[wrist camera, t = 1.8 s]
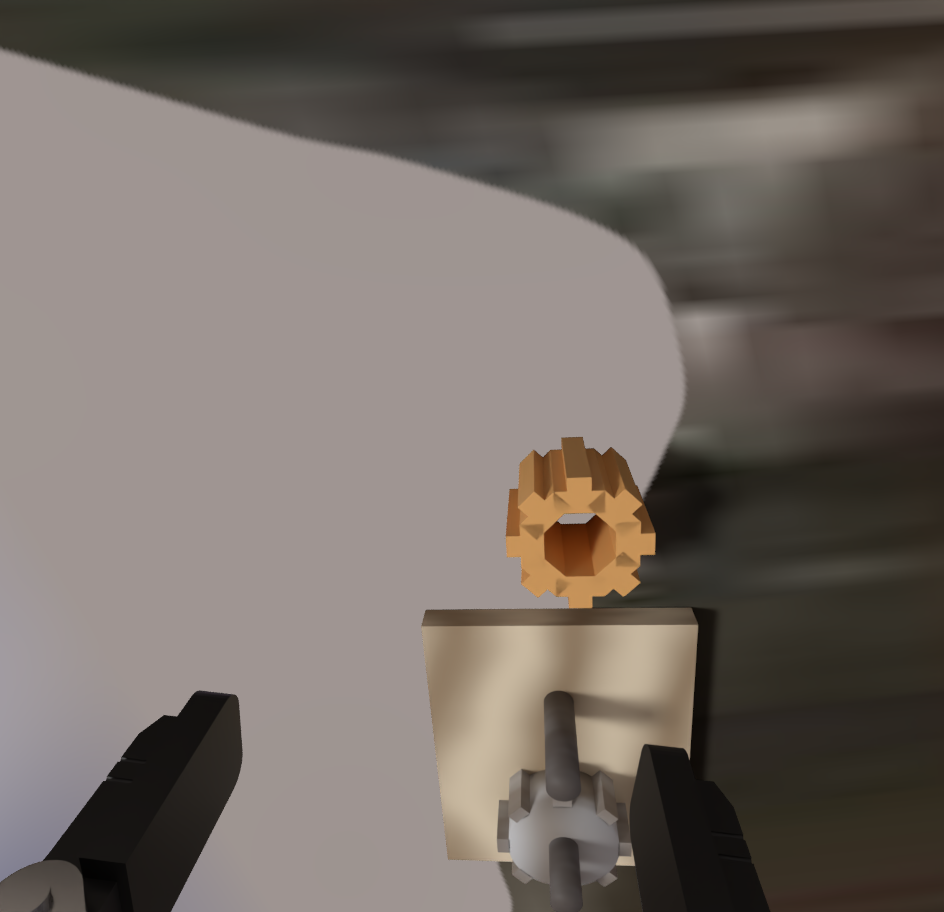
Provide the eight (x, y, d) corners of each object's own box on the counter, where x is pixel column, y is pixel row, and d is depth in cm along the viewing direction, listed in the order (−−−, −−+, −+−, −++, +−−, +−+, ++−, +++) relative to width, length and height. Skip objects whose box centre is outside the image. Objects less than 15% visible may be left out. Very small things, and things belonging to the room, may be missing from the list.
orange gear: (638, 435, 30) (657, 475, 26) (635, 550, 32) (653, 607, 28) (506, 439, 31) (502, 479, 26) (513, 553, 33) (510, 608, 28)
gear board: (691, 607, 33) (730, 703, 27) (677, 843, 39) (706, 970, 33) (425, 609, 35) (401, 701, 28) (450, 837, 41) (435, 956, 34)
